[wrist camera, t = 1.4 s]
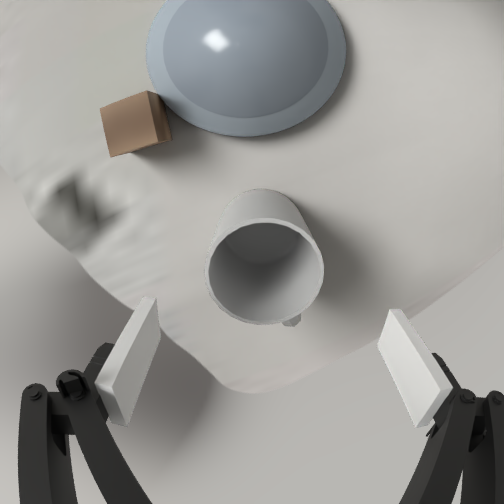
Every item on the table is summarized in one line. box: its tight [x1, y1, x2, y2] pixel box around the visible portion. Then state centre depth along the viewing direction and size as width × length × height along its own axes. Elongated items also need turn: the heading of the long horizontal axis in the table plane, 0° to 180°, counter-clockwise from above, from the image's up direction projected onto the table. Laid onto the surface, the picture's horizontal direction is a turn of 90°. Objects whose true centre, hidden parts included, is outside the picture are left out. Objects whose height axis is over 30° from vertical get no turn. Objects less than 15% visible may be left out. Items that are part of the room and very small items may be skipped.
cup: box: [204, 189, 324, 326], centre depth 22 cm, size 7×10×9 cm
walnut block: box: [100, 91, 172, 157], centre depth 21 cm, size 4×4×4 cm
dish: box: [146, 0, 346, 136], centre depth 19 cm, size 16×16×1 cm
